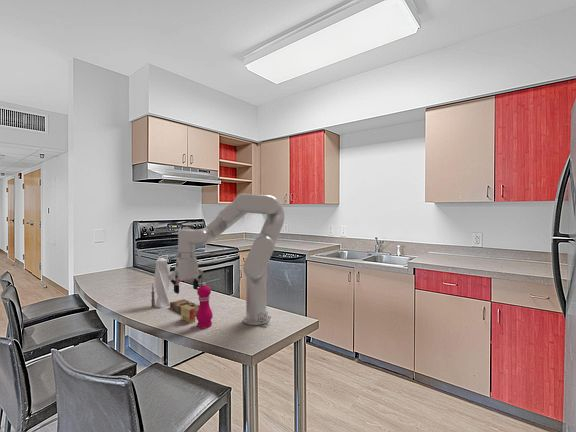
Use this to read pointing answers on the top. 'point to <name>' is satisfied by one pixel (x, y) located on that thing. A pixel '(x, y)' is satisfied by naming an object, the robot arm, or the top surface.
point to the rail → (177, 305)
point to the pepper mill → (204, 307)
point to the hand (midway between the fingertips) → (186, 291)
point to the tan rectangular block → (188, 313)
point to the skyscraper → (161, 283)
